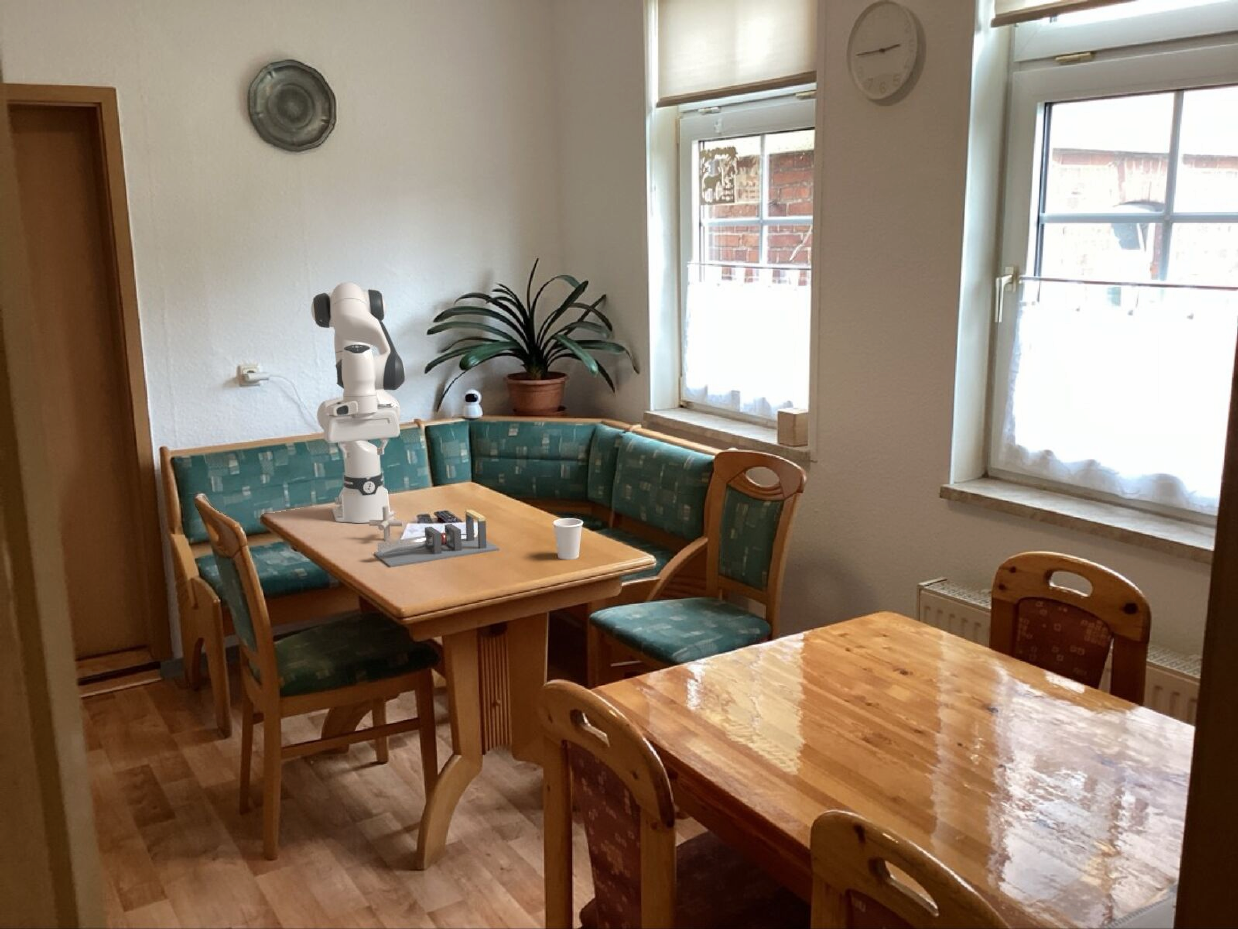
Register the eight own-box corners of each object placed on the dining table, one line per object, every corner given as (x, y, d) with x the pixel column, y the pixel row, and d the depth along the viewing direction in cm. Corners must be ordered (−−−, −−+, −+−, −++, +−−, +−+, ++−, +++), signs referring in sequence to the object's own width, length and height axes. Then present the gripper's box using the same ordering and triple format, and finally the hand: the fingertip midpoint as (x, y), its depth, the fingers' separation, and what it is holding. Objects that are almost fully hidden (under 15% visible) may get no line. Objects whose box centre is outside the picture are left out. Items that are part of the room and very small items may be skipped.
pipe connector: (408, 535, 320) (407, 502, 318) (398, 544, 310) (396, 511, 308) (376, 534, 321) (374, 502, 319) (365, 543, 311) (363, 510, 309)
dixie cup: (563, 562, 292) (562, 527, 290) (547, 555, 299) (547, 520, 297) (589, 557, 297) (588, 522, 295) (573, 550, 304) (573, 516, 302)
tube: (377, 552, 296) (377, 540, 295) (446, 542, 306) (445, 530, 305) (381, 556, 293) (381, 543, 292) (450, 545, 303) (450, 533, 302)
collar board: (374, 554, 301) (372, 521, 299) (479, 538, 317) (478, 506, 315) (390, 567, 289) (388, 533, 287) (498, 549, 305) (498, 517, 303)
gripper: (394, 401, 295) (397, 451, 298) (320, 407, 285) (323, 458, 288) (401, 403, 290) (404, 454, 293) (326, 409, 280) (330, 461, 282)
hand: (363, 456), depth 290 cm, fingers open, 8 cm apart
